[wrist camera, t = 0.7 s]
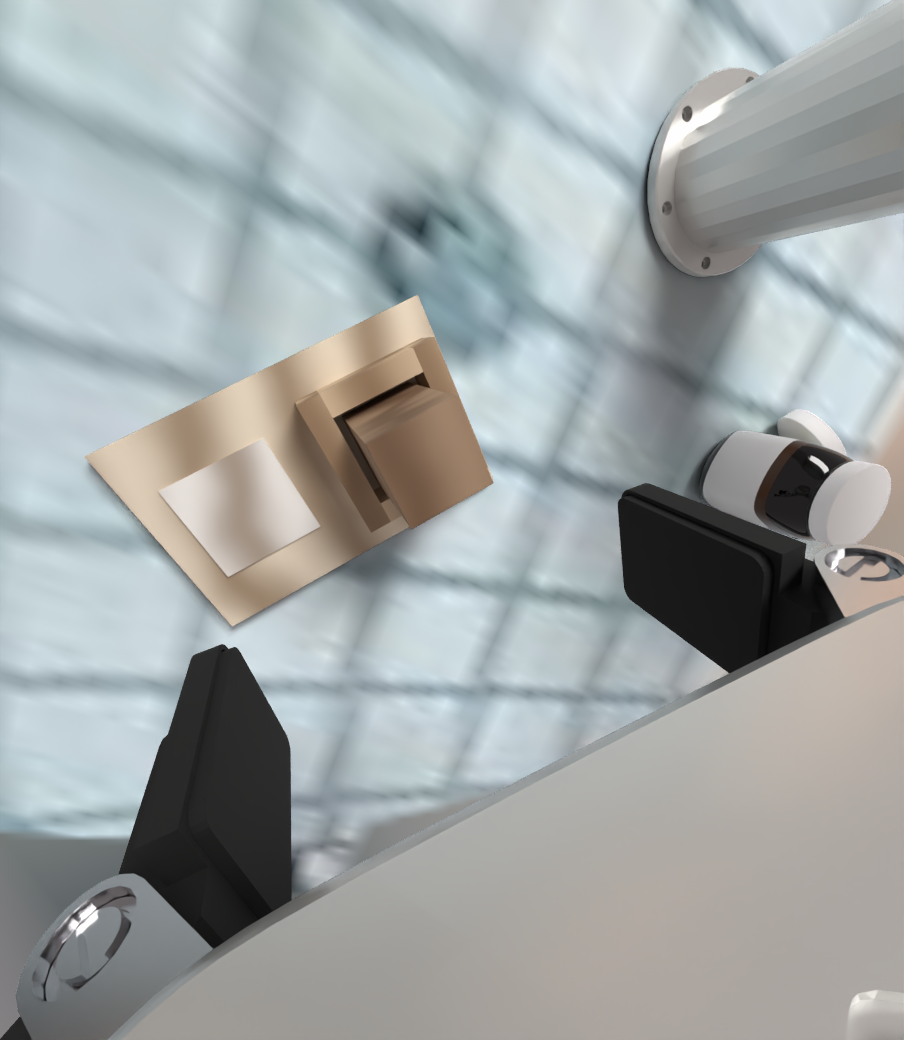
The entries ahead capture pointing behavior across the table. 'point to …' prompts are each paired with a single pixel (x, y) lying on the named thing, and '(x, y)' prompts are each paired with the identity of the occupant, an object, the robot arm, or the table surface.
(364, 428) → the walnut block
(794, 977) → the robot arm
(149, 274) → the table surface
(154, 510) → the pocket board
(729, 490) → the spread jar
